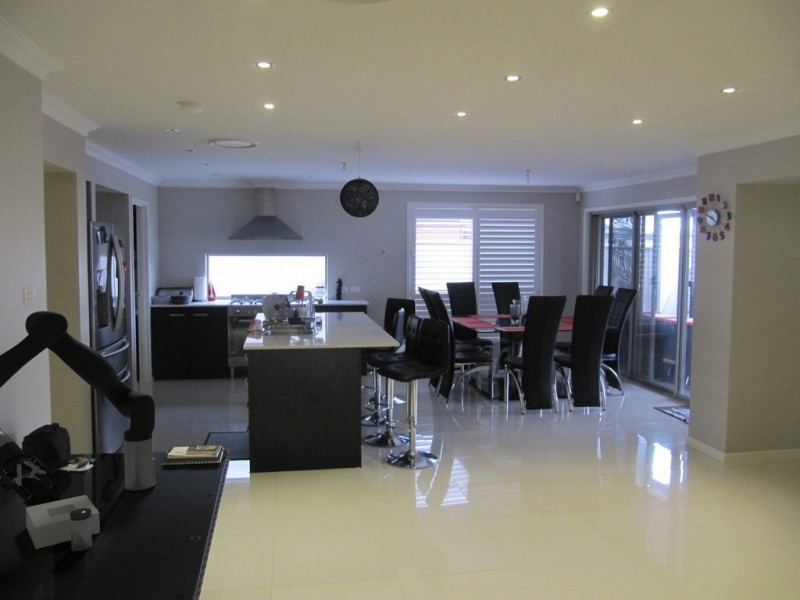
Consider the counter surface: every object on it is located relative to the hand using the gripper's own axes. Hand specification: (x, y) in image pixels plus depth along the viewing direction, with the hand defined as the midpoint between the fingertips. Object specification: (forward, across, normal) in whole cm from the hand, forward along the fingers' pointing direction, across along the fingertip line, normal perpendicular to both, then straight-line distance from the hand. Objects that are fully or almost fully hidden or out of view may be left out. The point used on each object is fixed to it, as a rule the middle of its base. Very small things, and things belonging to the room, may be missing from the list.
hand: (40, 492), depth 167 cm
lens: (+19, 0, +2) cm, 19 cm away
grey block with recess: (+10, +10, +11) cm, 18 cm away
